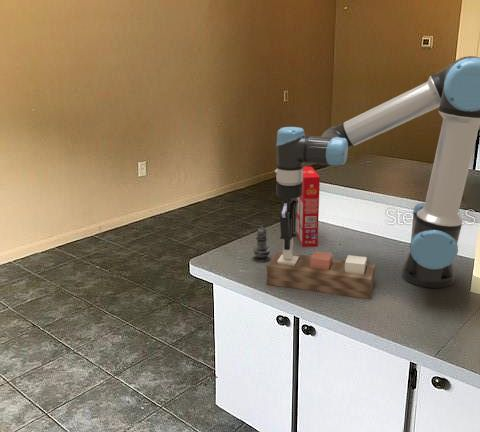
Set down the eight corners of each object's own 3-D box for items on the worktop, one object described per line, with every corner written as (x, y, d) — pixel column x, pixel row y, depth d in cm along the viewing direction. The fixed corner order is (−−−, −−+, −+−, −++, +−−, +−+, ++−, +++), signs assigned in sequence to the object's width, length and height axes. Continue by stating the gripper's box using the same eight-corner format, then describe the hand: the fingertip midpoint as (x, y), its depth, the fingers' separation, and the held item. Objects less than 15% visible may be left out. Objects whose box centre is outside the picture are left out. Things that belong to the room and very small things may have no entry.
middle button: (331, 266, 160) (332, 253, 158) (328, 273, 155) (328, 260, 153) (313, 263, 161) (314, 251, 160) (310, 271, 156) (310, 257, 155)
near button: (365, 270, 156) (366, 257, 155) (363, 278, 152) (364, 264, 150) (347, 268, 158) (348, 255, 157) (344, 275, 153) (345, 262, 152)
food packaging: (317, 246, 187) (319, 177, 179) (302, 247, 187) (304, 177, 178) (309, 231, 201) (311, 166, 193) (295, 232, 201) (297, 167, 192)
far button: (298, 269, 164) (299, 256, 162) (294, 276, 159) (294, 263, 157) (281, 267, 165) (281, 254, 164) (276, 274, 160) (277, 261, 159)
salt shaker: (261, 254, 181) (261, 220, 177) (274, 258, 177) (274, 224, 173) (249, 259, 177) (248, 225, 173) (262, 264, 173) (262, 229, 169)
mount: (373, 282, 160) (375, 263, 158) (369, 298, 150) (371, 279, 148) (276, 269, 169) (277, 252, 167) (266, 284, 159) (266, 265, 158)
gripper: (282, 175, 160) (281, 248, 168) (270, 187, 148) (269, 265, 156) (307, 177, 157) (304, 251, 165) (296, 189, 146) (294, 268, 154)
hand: (287, 258), depth 161 cm, fingers closed
